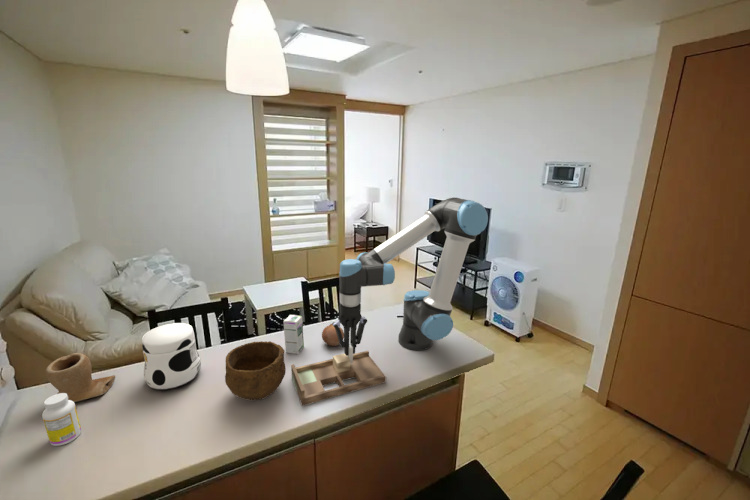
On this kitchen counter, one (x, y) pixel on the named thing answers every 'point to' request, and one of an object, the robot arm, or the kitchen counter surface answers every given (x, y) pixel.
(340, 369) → the maple block
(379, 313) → the kitchen counter surface
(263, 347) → the bowl
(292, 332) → the syrup box
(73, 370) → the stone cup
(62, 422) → the supplement bottle
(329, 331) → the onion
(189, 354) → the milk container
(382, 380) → the board
